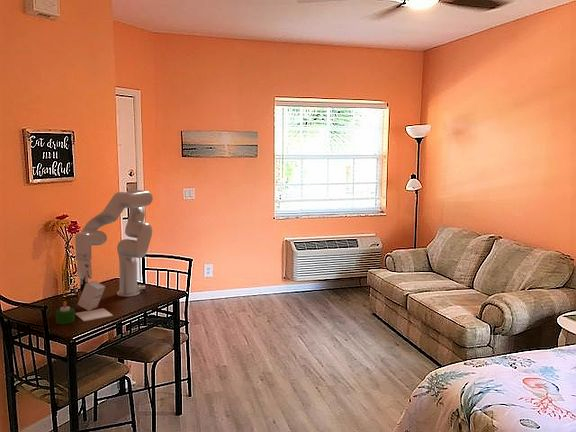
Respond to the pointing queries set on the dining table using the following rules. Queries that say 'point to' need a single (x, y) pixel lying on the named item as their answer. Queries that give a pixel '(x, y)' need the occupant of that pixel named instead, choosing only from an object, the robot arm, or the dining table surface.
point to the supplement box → (91, 295)
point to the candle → (65, 314)
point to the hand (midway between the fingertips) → (84, 291)
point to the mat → (93, 314)
